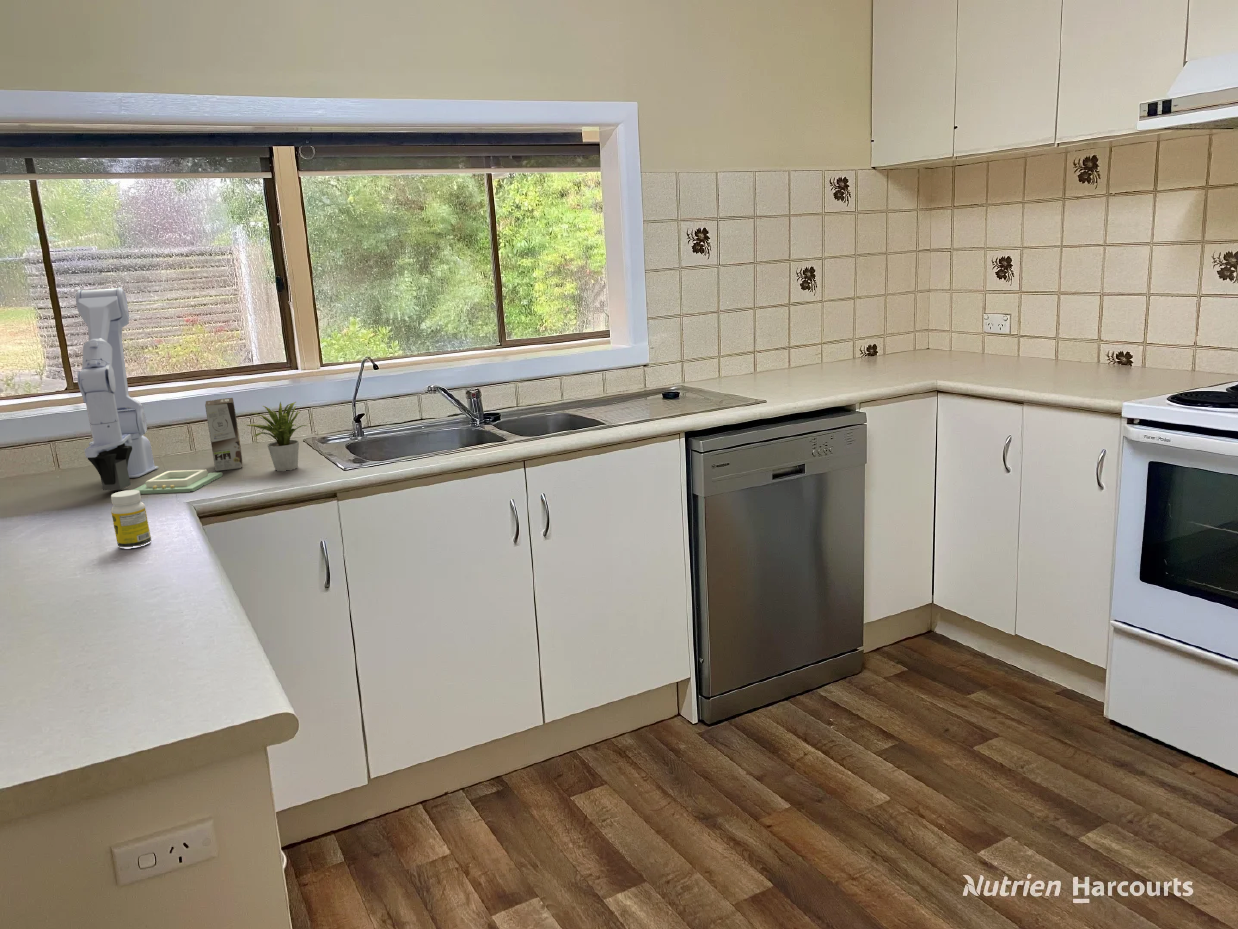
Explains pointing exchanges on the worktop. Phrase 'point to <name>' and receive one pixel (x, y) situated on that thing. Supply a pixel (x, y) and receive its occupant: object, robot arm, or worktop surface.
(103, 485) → the plug block
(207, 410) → the coffee box
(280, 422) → the house plant
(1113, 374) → the worktop surface
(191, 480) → the socket board
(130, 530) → the supplement bottle
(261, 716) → the worktop surface
